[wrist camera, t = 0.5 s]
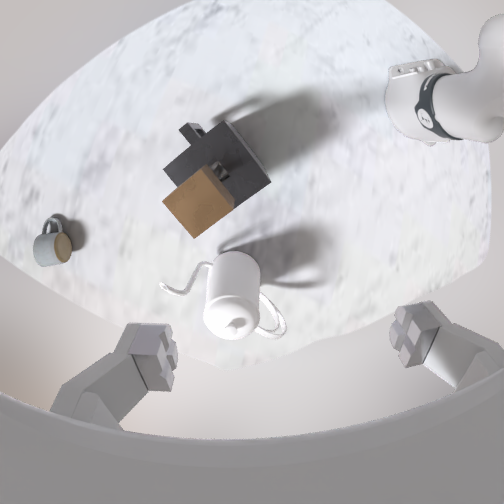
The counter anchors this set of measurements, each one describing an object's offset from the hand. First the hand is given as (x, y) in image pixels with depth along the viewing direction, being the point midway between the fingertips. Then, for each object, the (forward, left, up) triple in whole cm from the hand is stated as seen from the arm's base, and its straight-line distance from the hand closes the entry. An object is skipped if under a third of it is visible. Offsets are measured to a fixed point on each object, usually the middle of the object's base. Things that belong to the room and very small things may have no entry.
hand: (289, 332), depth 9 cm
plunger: (+4, -4, -32) cm, 33 cm away
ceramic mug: (+46, -17, -44) cm, 66 cm away
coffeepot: (+17, +15, -44) cm, 50 cm away
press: (+4, -5, -44) cm, 45 cm away
